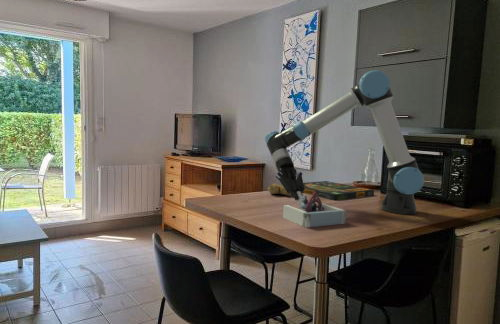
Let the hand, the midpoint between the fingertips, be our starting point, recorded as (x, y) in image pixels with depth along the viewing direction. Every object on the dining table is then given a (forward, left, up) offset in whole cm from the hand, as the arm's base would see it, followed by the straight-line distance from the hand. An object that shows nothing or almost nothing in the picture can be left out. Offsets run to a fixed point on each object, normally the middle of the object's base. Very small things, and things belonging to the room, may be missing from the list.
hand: (302, 206), depth 154 cm
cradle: (-6, +3, -4) cm, 8 cm away
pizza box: (+18, -65, -5) cm, 67 cm away
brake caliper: (-5, +1, -4) cm, 7 cm away
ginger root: (+32, -35, -4) cm, 48 cm away
